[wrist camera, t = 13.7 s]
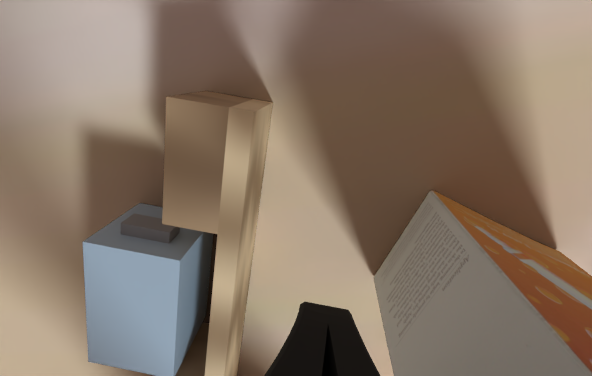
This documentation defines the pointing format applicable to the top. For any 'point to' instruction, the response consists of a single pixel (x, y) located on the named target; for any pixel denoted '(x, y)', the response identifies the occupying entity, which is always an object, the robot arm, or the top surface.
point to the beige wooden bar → (217, 207)
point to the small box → (481, 300)
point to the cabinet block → (145, 291)
